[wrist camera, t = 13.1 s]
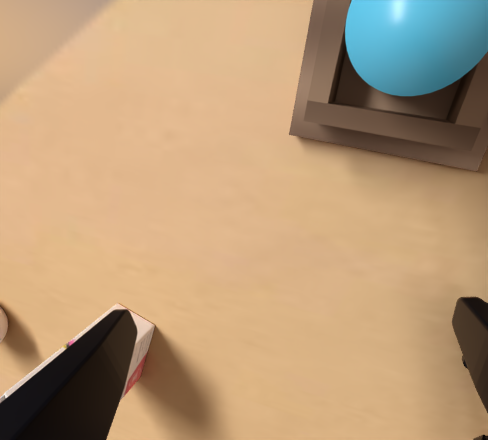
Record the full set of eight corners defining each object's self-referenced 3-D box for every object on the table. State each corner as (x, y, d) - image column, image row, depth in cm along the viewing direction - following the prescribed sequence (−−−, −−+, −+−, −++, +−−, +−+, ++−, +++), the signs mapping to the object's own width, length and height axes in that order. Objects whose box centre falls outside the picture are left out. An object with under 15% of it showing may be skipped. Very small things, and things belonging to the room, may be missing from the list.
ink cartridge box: (143, 378, 36) (10, 536, 23) (107, 354, 37) (-39, 493, 24) (157, 324, 32) (6, 480, 19) (117, 299, 33) (-52, 431, 20)
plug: (471, 52, 15) (542, 19, 8) (391, 111, 17) (395, 124, 10) (420, -19, 15) (450, -113, 8) (346, 48, 17) (318, 20, 10)
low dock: (472, 167, 17) (490, 183, 14) (293, 132, 20) (277, 140, 17) (574, -69, 13) (629, -116, 10) (331, -70, 16) (318, -106, 13)
